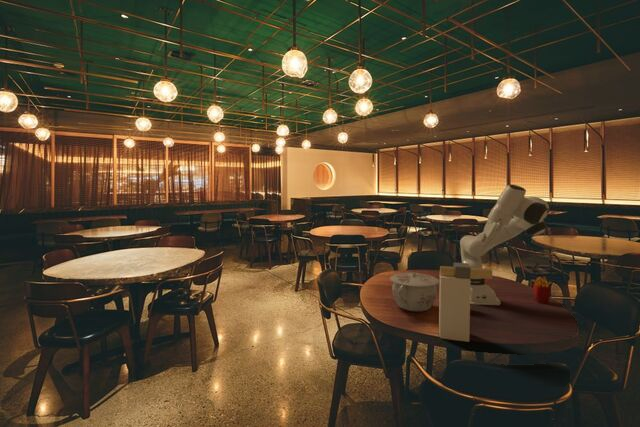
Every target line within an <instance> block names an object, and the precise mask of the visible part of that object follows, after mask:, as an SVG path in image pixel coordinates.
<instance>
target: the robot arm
mask: <svg viewBox="0 0 640 427" xmlns="http://www.w3.org/2000/svg"><path fill="white" fill-rule="evenodd" d="M526 193H527V189H525V188H524V187H522V186H519V185H517V184H511V183H510V184H507V185H506V187H505V188H504V189H503V190H502V192H501V194H500V195H499V196H498V198H497V201H496V202H495V205H494V206H493V207H492V208H491V210H490V212H489V214H488V215H487V218H488V219H487V221H486V223H485V225H484V228H483V231H482V232H481V233H479V234H478V235H475V236H474V235H473V234H472V235H471V234H470V235H464V236H462V237H461V238H460V241H459V245H460V257H461V263H468V265H469V266H470V268H483V263H482V258H481V257H482V256H484V255H485V254H486V253H487V252H489V251H490V250H491V249H493V248H494V247H496V246H498V245H500V244H503V243H504V242H507V241H509V240H512V239H513V238H515V237H517V236H518V235H520V234H521V233H522V234H523V235H526V236H529V237H530V236H531V237H535V236H540V235H542V234H543V233H545V231H546V230H547V228H548V225H547V223H546V222H545V221H544V220H546V218H547V217H548V216H549V214H550V211H551V210H550V205H549V204H548V202H547V201H546V200H544V199H543V198H540V197H536V196H528V197H525V196H526ZM488 282H489V281H488V279H485V278H470V291H471V293H470V305H471V304H472V305H479V306H481V305H483V306H486V305H487V306H500V305H501V300H500V299H499V298H498V297H497V295H496V292H495V290H494V289H493V288H491V287H490V286H489V285H487V284H488Z"/></svg>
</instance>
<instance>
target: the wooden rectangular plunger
mask: <svg viewBox="0 0 640 427" xmlns="http://www.w3.org/2000/svg"><path fill="white" fill-rule="evenodd" d="M440 276H455V267H454V266H447V265H440V266H439V277H440ZM470 278H484V279H486V280H493V270H492V269H491V268H483V267H482V268H470Z"/></svg>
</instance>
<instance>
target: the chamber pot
mask: <svg viewBox="0 0 640 427" xmlns="http://www.w3.org/2000/svg"><path fill="white" fill-rule="evenodd" d="M389 280H390V281H391V282H392V283H393V284H392V286H391V288H392V291H391V292H392V297H393V300H394V302H396V304H397V305H398V307H400V308H401V309H403V310H406V311H409V312H413V311H414V313H416V312H417V313H419V312H425V311H428V310H430V309H431V308H432V306H433V305H434V303H435V302H436V299H437V295H438V292H437V291H438V289H437V287H436V286H437V285H440V279H439V278H437V277H435V276H432V275H429V274H426V273H425V274H424V273H418V272H416V271H414V272H403V273H402V272H401V273H396V274H392V275H391V276H389Z"/></svg>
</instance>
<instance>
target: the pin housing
mask: <svg viewBox="0 0 640 427" xmlns="http://www.w3.org/2000/svg"><path fill="white" fill-rule="evenodd" d="M453 267H455V276H440V275H439V281H440V282H439V293H438V294H439V298H438V299H439V301H438V303H439V304H438V306H439V309H438V331H439V338H440V339H445V340H451V341H458V342H459V341H460V342H468V343H469V342H470V332H471V331H470V329H471V328H470V327H471V326H470V323H471V322H470V321H471V320H470V319H471V303H470V266H469V265H468V263H462V262H453Z"/></svg>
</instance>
